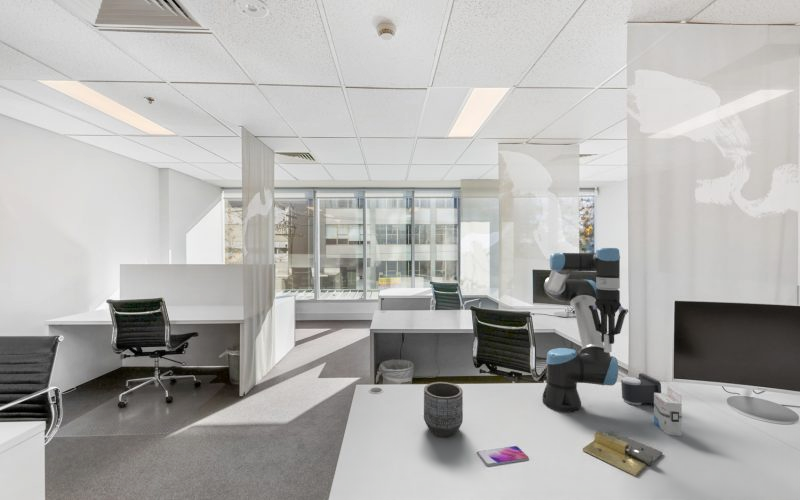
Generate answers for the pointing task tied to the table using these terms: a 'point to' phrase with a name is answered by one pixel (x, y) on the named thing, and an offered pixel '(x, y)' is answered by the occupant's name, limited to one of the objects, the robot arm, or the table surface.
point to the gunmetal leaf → (639, 450)
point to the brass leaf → (613, 453)
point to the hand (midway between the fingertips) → (607, 351)
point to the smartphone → (502, 456)
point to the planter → (443, 408)
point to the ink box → (668, 412)
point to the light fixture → (639, 389)
